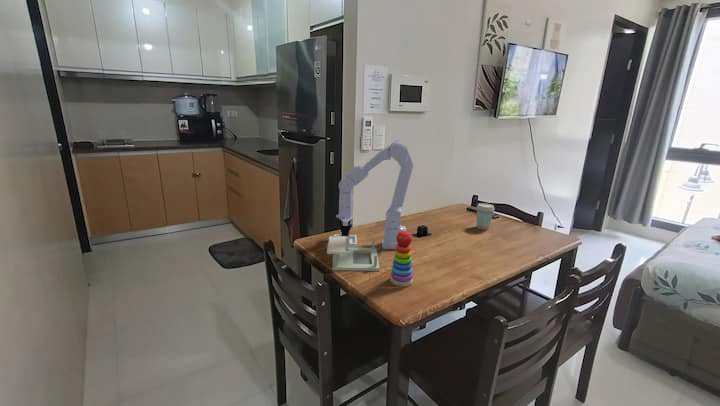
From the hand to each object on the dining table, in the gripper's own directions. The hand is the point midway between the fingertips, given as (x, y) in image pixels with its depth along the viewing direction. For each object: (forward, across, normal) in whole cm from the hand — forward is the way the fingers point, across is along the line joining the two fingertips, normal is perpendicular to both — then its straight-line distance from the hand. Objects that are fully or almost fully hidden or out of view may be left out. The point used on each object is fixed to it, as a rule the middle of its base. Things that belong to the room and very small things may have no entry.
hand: (345, 235), depth 146 cm
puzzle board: (+3, +17, +4) cm, 18 cm away
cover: (-3, +17, -2) cm, 17 cm away
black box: (+4, -12, +36) cm, 38 cm away
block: (+3, 0, 0) cm, 3 cm away
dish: (+3, 0, 0) cm, 3 cm away
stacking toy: (+3, +33, +20) cm, 39 cm away
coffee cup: (+3, -23, +69) cm, 73 cm away
